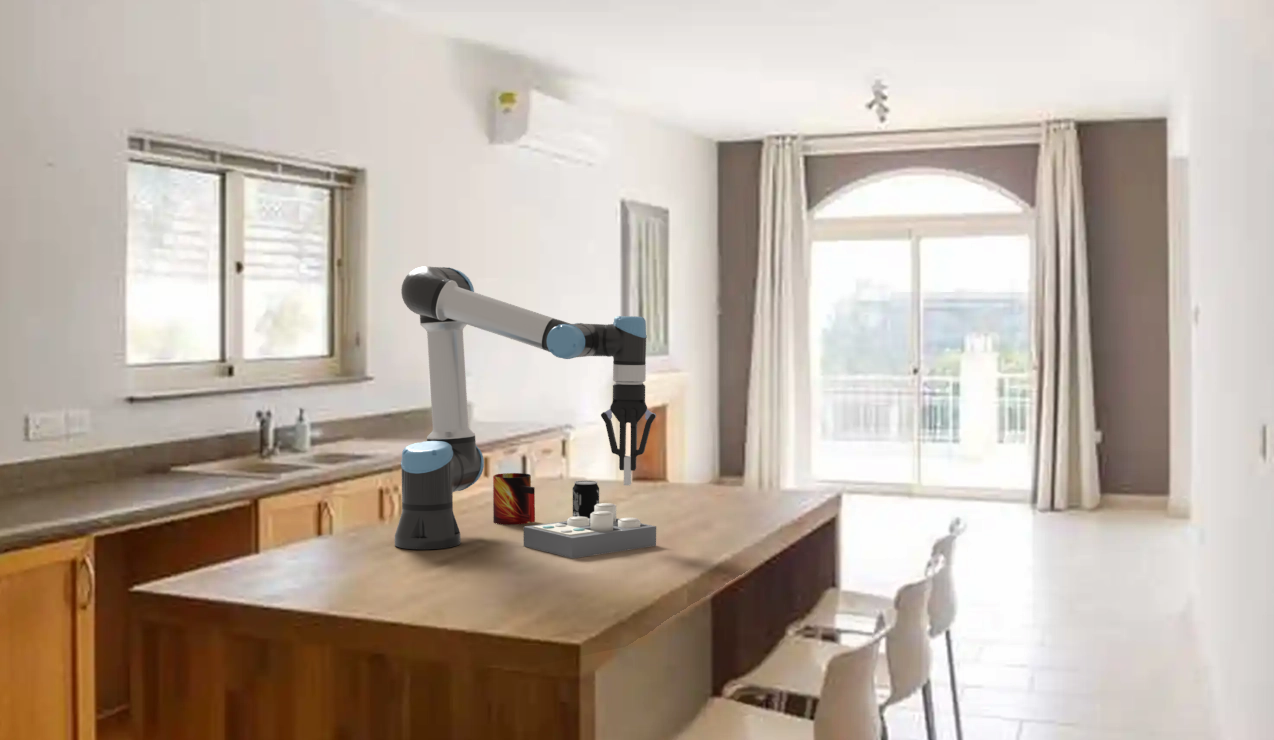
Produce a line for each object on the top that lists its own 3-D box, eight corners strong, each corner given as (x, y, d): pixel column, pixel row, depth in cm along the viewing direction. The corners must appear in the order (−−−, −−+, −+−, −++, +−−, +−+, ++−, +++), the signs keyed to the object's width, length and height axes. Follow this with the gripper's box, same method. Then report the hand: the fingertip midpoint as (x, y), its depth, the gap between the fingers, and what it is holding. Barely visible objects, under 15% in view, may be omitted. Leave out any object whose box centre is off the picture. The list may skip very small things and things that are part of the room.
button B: (603, 529, 299) (603, 506, 299) (590, 526, 303) (589, 504, 303) (620, 526, 302) (620, 504, 302) (607, 524, 306) (607, 502, 306)
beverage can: (595, 532, 311) (595, 484, 311) (569, 532, 313) (569, 483, 312) (601, 528, 318) (601, 480, 317) (576, 527, 319) (576, 479, 318)
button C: (599, 538, 287) (599, 515, 286) (585, 535, 291) (585, 512, 291) (617, 535, 290) (617, 512, 290) (603, 532, 294) (603, 510, 294)
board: (572, 558, 279) (572, 535, 279) (523, 546, 294) (523, 524, 294) (656, 545, 294) (656, 524, 294) (605, 534, 309) (605, 514, 309)
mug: (533, 527, 320) (533, 479, 319) (486, 523, 326) (485, 476, 325) (551, 521, 329) (551, 475, 328) (505, 517, 334) (505, 472, 334)
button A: (575, 543, 294) (575, 520, 294) (562, 540, 298) (562, 517, 298) (593, 540, 297) (593, 518, 297) (580, 537, 301) (580, 515, 301)
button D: (627, 544, 292) (627, 521, 292) (613, 541, 296) (613, 518, 296) (644, 542, 295) (644, 519, 295) (630, 539, 299) (630, 516, 299)
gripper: (658, 382, 297) (656, 483, 298) (603, 381, 298) (601, 481, 299) (655, 384, 289) (654, 487, 291) (599, 383, 291) (597, 485, 292)
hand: (627, 484), depth 295 cm, fingers closed
